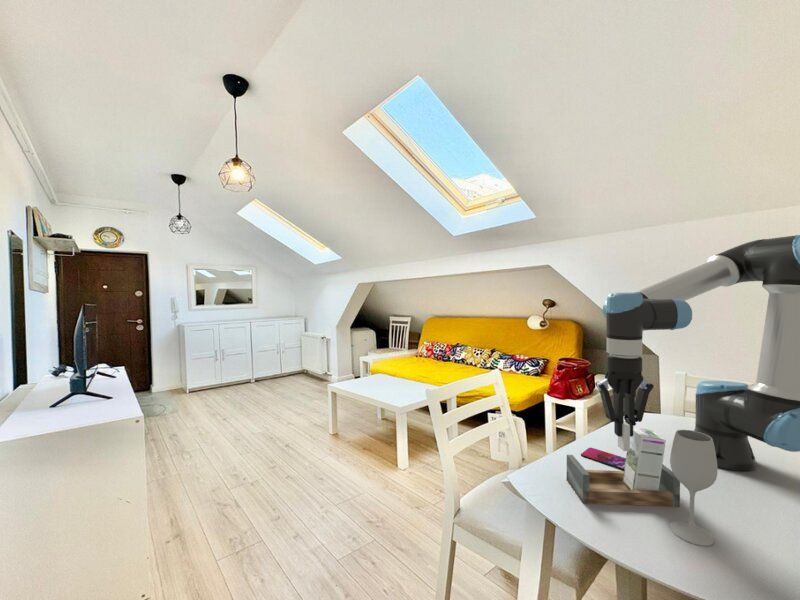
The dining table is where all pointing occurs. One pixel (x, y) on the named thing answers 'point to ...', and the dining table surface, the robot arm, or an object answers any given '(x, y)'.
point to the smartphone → (605, 458)
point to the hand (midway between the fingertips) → (623, 448)
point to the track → (620, 487)
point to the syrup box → (644, 460)
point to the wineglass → (693, 478)
